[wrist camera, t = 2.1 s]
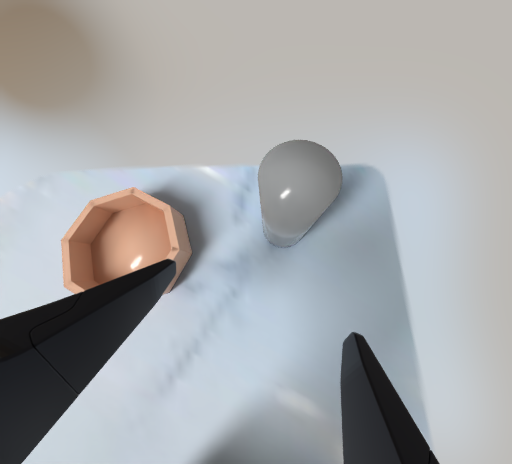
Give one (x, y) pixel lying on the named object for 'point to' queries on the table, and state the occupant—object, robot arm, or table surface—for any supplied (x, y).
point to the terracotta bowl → (122, 239)
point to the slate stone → (296, 189)
